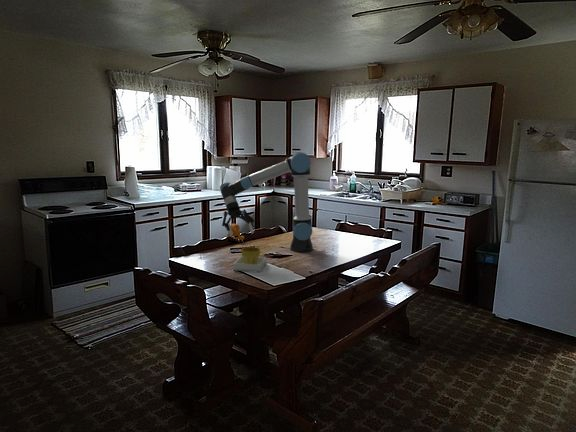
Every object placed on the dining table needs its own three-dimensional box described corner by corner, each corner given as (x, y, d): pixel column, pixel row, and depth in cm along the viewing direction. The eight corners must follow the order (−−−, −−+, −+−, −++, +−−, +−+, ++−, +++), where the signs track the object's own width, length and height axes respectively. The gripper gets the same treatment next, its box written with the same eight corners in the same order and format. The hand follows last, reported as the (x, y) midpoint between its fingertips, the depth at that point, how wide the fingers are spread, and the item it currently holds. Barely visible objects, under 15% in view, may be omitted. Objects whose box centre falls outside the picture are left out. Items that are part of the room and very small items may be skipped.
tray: (266, 264, 237) (266, 257, 236) (260, 272, 222) (260, 265, 221) (240, 262, 239) (240, 255, 239) (233, 270, 224) (233, 263, 223)
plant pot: (252, 269, 224) (252, 252, 222) (238, 266, 229) (237, 249, 227) (263, 264, 232) (263, 248, 231) (249, 261, 238) (249, 245, 236)
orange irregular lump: (232, 242, 287) (232, 226, 285) (226, 240, 292) (226, 224, 290) (244, 240, 293) (244, 224, 291) (239, 238, 299) (239, 222, 297)
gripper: (248, 207, 255) (259, 235, 245) (211, 210, 243) (220, 239, 233) (252, 200, 250) (263, 228, 240) (214, 202, 237) (224, 232, 227)
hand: (242, 233), depth 236 cm, fingers open, 13 cm apart
